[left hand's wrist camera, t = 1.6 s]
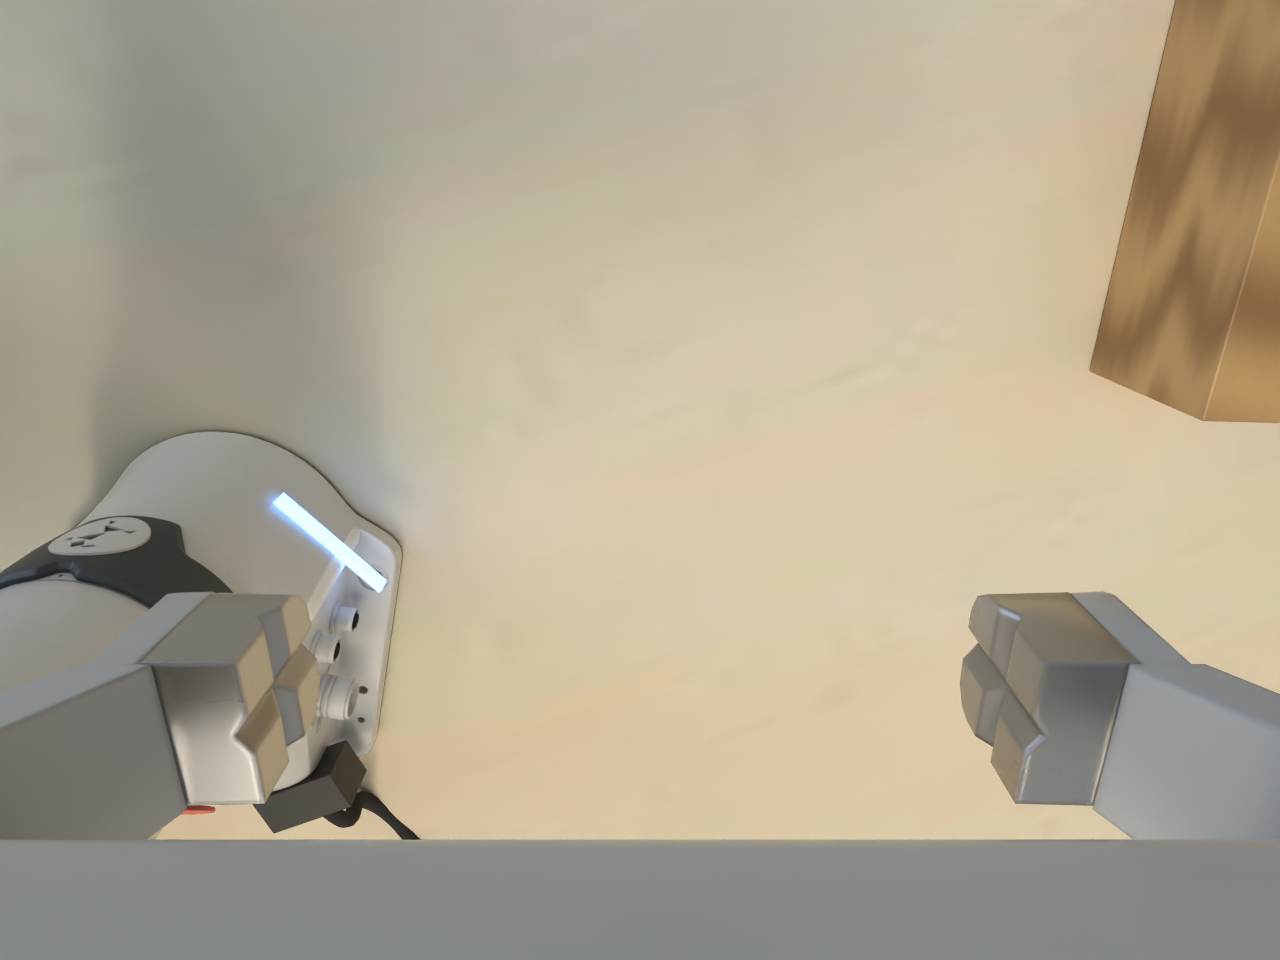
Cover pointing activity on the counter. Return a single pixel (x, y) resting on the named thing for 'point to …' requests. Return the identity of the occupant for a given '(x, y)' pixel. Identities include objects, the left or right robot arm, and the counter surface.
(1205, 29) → the bar
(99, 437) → the counter surface
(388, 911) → the left robot arm
